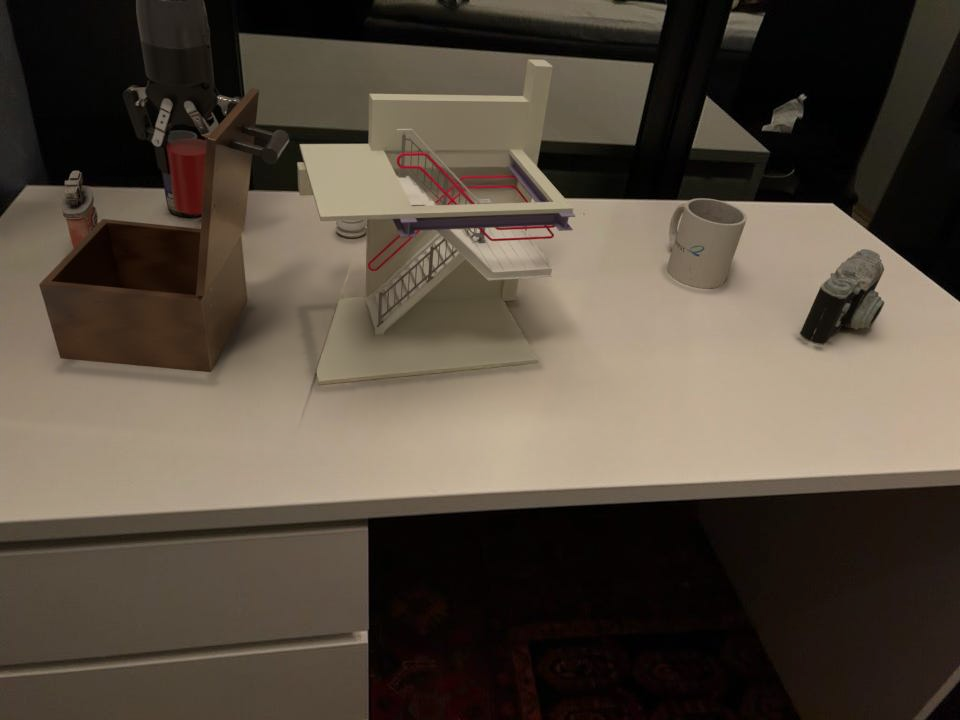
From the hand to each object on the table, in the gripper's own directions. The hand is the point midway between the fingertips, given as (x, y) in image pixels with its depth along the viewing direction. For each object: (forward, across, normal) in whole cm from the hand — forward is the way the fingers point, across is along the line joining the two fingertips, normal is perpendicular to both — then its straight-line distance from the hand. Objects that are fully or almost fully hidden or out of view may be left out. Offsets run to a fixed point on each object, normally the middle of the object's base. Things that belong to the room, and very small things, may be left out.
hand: (193, 174), depth 95 cm
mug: (+11, +70, +8) cm, 71 cm away
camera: (+11, +88, -5) cm, 89 cm away
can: (+4, 0, 0) cm, 4 cm away
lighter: (+10, -13, -5) cm, 17 cm away
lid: (-8, +11, -21) cm, 25 cm away
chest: (+10, +2, -21) cm, 23 cm away
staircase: (+10, +32, -17) cm, 38 cm away
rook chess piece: (+10, +19, +8) cm, 23 cm away
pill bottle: (+10, -5, +10) cm, 15 cm away
